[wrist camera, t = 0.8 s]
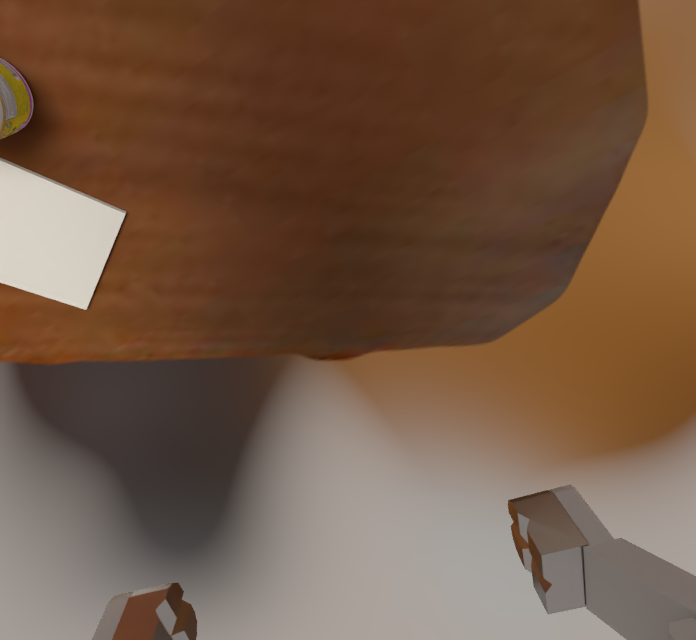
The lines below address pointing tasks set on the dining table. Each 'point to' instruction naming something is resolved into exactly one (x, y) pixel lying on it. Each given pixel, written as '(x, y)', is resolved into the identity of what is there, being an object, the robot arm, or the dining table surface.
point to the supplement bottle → (13, 100)
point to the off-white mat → (53, 236)
